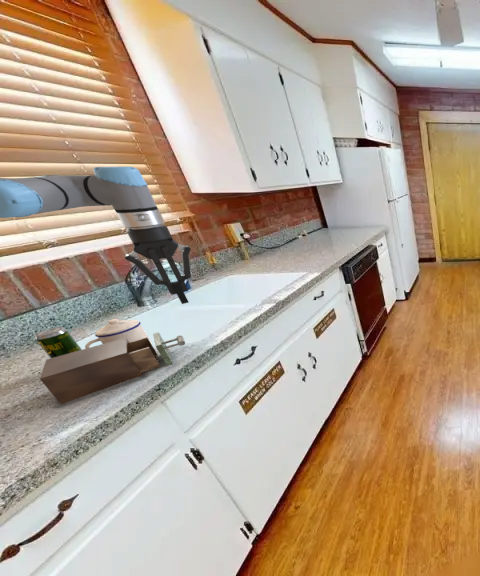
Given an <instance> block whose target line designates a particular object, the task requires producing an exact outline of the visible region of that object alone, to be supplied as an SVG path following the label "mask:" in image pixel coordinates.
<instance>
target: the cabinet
mask: <svg viewBox="0 0 480 576" xmlns="http://www.w3.org/2000/svg"><path fill="white" fill-rule="evenodd" d="M128 342H129V341H128V340H127V338H123V339H119V340H116V341H112V342H108V343H105V344H102V343H101V344H97V345H95V346H94V345H93V346H91V347H90V346H89V348H87V349H86V348H83V349H82V350H79V351H76V352H72V353H69V354H65V355H61V356H58V357H54V358H50V357H49V358H48V359H45V362H44V365H43V368H42V371H41V374H40V377H39V380H40V381H41V382H42V384H44V386H45V387H46V389H48V391H49V392H50V393H51V394H52V396H53V397H54V398H55V399H56V401H57V402H58V403H59V405H64V404H66V403H69V402H73V401H75V400H77V399H80V398H83V397H86V396H89V395H92V394H95V393H97V392H100V391H104V390H106V389H108V388H112V387H114V386H117V385H120V384H123V383H126V382H128V381H132V380H134V379H137V378H139V377H142V376H143V374H142V373H141V372H140V371H139V369H138V368H137V366H136V365H135V363H134V362H133V360H132V359H131V357H130V355H129V354H128Z"/></svg>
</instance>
